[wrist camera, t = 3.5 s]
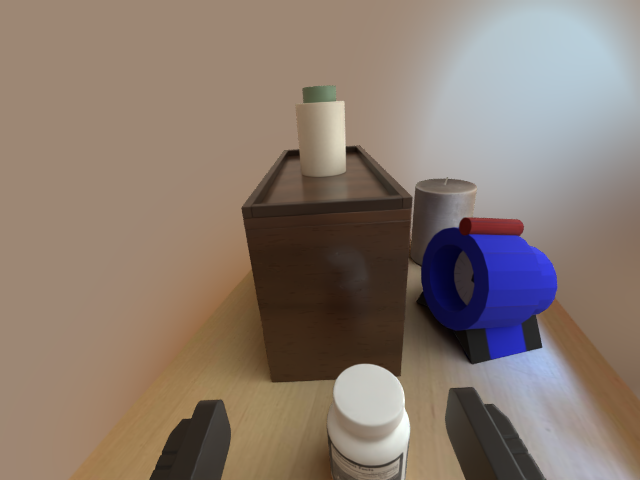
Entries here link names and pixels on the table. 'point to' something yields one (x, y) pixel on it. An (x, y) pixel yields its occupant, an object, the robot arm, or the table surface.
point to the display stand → (329, 266)
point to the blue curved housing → (487, 286)
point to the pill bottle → (368, 425)
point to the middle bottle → (321, 132)
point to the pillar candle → (439, 210)
